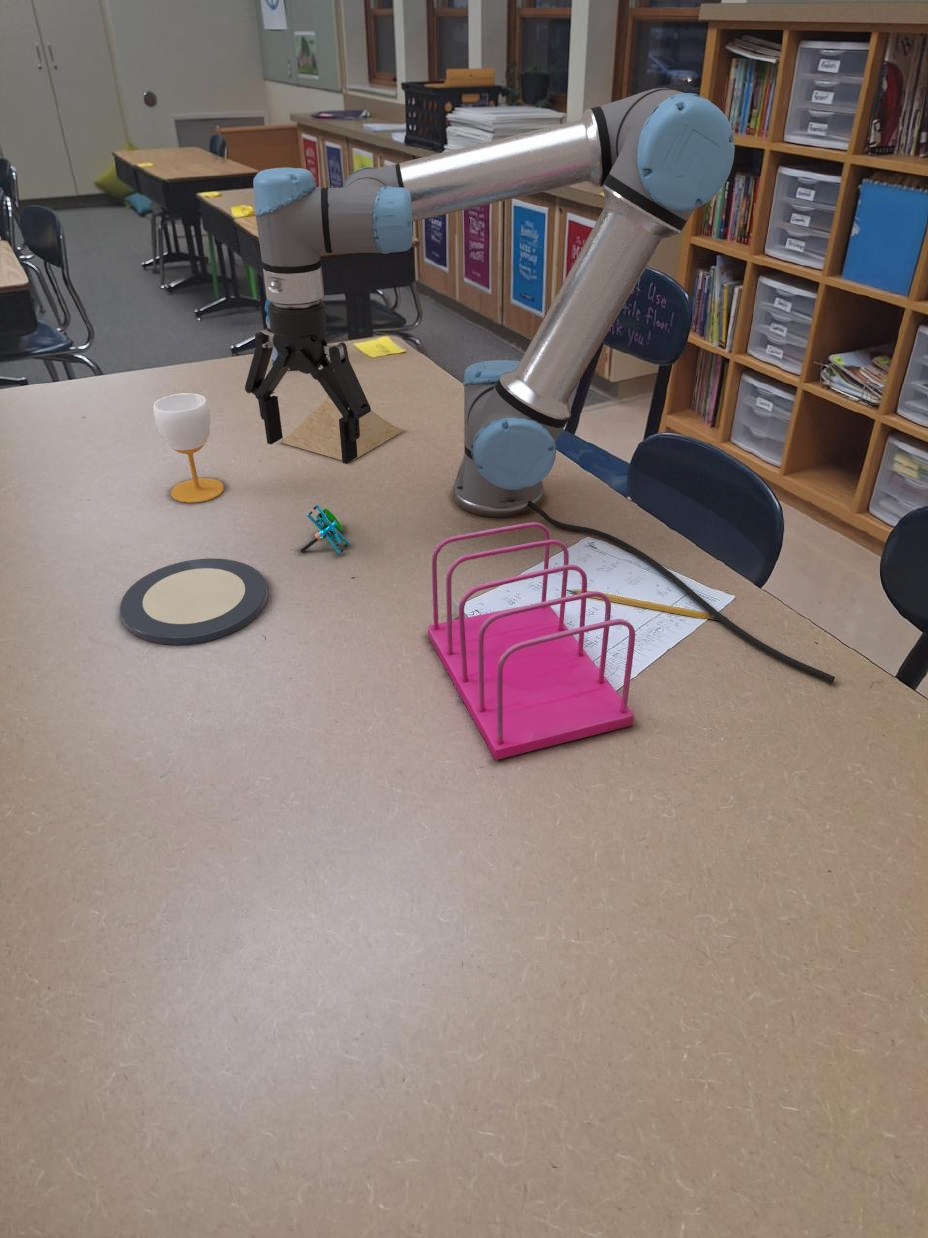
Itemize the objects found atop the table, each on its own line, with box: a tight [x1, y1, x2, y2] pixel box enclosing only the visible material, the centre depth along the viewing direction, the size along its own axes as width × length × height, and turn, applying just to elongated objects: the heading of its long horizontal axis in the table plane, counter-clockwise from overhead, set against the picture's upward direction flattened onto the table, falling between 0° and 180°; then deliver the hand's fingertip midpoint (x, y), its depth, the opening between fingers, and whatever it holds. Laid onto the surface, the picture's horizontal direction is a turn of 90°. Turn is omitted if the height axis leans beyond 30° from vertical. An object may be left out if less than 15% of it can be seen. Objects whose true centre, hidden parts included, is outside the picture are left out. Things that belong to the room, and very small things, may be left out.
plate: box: [119, 557, 269, 646], centre depth 121 cm, size 20×20×1 cm
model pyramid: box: [281, 396, 403, 462], centre depth 165 cm, size 17×17×10 cm
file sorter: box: [427, 521, 636, 760], centre depth 103 cm, size 17×25×16 cm
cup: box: [152, 392, 225, 504], centre depth 145 cm, size 9×9×16 cm
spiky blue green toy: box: [299, 504, 351, 555], centre depth 134 cm, size 12×7×8 cm
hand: (311, 450), depth 126 cm, fingers open, 13 cm apart
